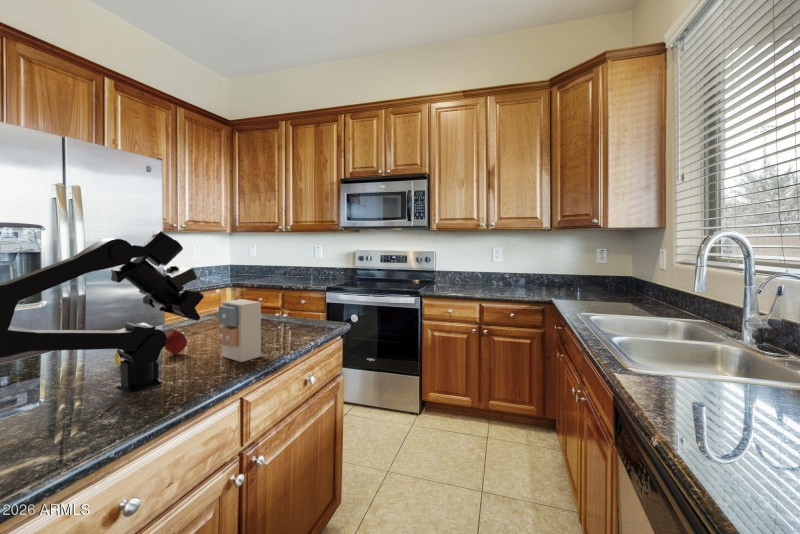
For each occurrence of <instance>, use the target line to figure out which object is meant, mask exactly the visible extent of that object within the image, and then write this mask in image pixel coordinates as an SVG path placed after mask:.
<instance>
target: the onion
mask: <svg viewBox="0 0 800 534" xmlns="http://www.w3.org/2000/svg"><path fill="white" fill-rule="evenodd" d="M166 337H167V342H166V345H165V346H164V349H166V351H168V352H169V353H170V354H171V355H174V356H177V355H178V354H180V353H181V352H182V351H184V349H186V347H187V346H188V345H187V344H188V339H187V337H186V336H185V334H184V333H183V332H181V331H179V330H178V329H177V328H176V327H174V328H173V329H172V332H170V333H169V334H168V335H166Z"/></svg>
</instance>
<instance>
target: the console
mask: <svg viewBox="0 0 800 534" xmlns="http://www.w3.org/2000/svg"><path fill="white" fill-rule="evenodd" d="M237 299H238V300H234V299H233V300H232V299H230V300H224V301H221V306H223V305H229V306H234V307H238V325H235V326H232V327H237V328H238V341H239V346H235V347H228V346H225V345H221V351H222V352H221V354H222V355H221V356H222V357H224V358H227V359H230V360H233V361H236V362H239V363H242V362H246V361H250V360H252V359H257V358H260V357H261V356H262V354H261V353H262V351H261V348H262V347H261V343H262V342H261V336H262V335H261V333H262V331H261V327H262V325H261V323H262V322H261V319H262V317H261V316H262V315H261V312H262V311H261V309H262V308H261V307H262V303H261V301H257V300H256V301H255V300H249V299H245V298H244V299H243V298H237ZM221 326H225V325H224V324H221Z"/></svg>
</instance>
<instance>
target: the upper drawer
mask: <svg viewBox="0 0 800 534" xmlns="http://www.w3.org/2000/svg"><path fill="white" fill-rule="evenodd" d="M218 324H221V325H222V324H224V325H228V326H235V325H238V307H234V306H229V305H223V306H222V305H218Z"/></svg>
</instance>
